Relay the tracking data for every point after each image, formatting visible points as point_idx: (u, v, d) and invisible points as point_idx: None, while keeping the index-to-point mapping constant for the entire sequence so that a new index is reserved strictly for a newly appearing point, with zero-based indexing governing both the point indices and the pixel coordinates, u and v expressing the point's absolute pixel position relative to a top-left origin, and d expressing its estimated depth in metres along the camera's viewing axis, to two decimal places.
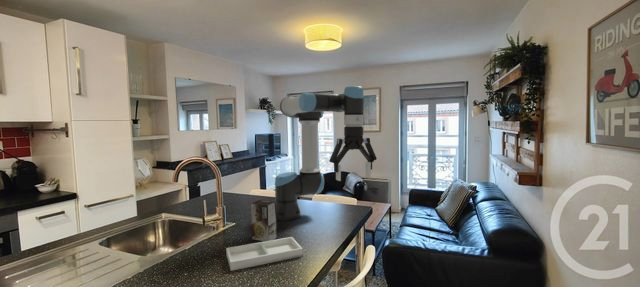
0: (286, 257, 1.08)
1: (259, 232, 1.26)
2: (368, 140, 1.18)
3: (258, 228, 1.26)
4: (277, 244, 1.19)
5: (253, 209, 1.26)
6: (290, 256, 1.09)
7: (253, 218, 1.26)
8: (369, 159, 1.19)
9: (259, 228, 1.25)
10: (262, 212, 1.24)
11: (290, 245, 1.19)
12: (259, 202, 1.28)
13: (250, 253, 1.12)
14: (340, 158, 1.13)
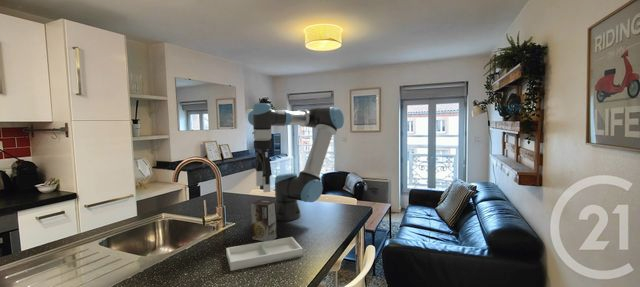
0: (286, 257, 1.08)
1: (259, 232, 1.26)
2: (263, 154, 1.20)
3: (258, 228, 1.26)
4: (277, 244, 1.19)
5: (253, 209, 1.26)
6: (290, 256, 1.09)
7: (253, 218, 1.26)
8: None
9: (259, 228, 1.25)
10: (262, 212, 1.24)
11: (290, 245, 1.19)
12: (259, 202, 1.28)
13: (250, 253, 1.12)
14: (256, 166, 1.32)
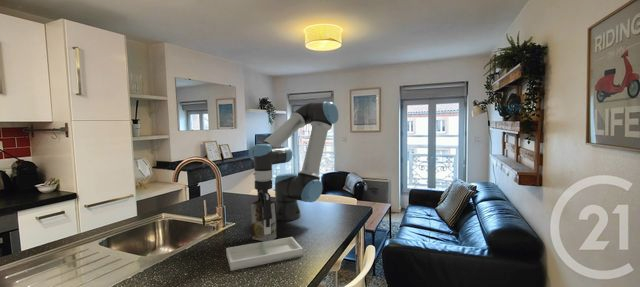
0: (286, 257, 1.08)
1: (259, 231, 1.26)
2: (264, 197, 1.21)
3: (258, 228, 1.26)
4: (277, 244, 1.19)
5: (253, 209, 1.26)
6: (290, 256, 1.09)
7: (253, 218, 1.26)
8: (264, 216, 1.22)
9: (259, 228, 1.26)
10: (262, 212, 1.24)
11: (290, 245, 1.19)
12: (259, 202, 1.28)
13: (250, 253, 1.12)
14: None
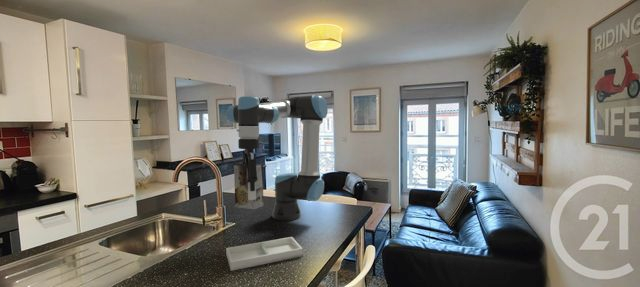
0: (286, 257, 1.08)
1: (242, 197, 1.09)
2: (248, 156, 1.04)
3: (241, 193, 1.09)
4: (277, 244, 1.19)
5: (236, 172, 1.09)
6: (290, 256, 1.09)
7: (236, 182, 1.10)
8: (248, 178, 1.05)
9: (242, 194, 1.08)
10: (246, 174, 1.07)
11: (290, 245, 1.19)
12: (243, 164, 1.11)
13: (250, 253, 1.12)
14: None
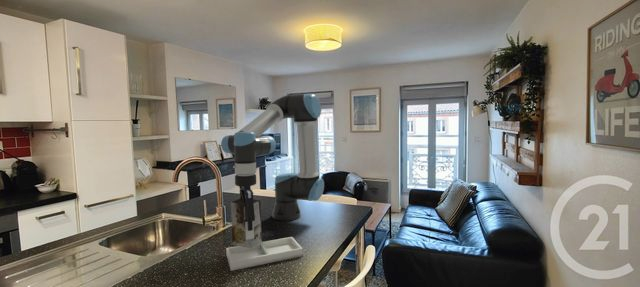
0: (286, 257, 1.08)
1: (240, 236, 1.06)
2: (245, 195, 1.01)
3: (238, 232, 1.06)
4: (277, 244, 1.19)
5: (233, 209, 1.06)
6: (290, 256, 1.09)
7: (233, 220, 1.06)
8: None
9: (240, 232, 1.05)
10: (243, 212, 1.04)
11: (290, 245, 1.19)
12: (240, 201, 1.07)
13: (250, 253, 1.12)
14: None
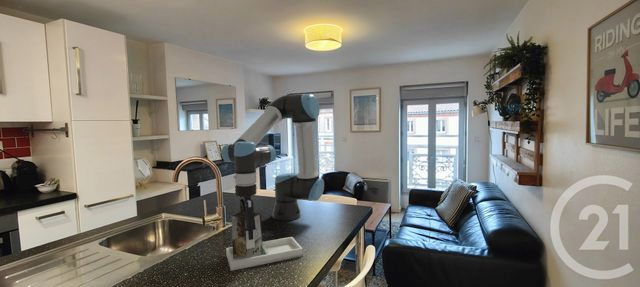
0: (286, 257, 1.08)
1: (241, 249, 1.06)
2: (245, 204, 1.01)
3: (239, 245, 1.06)
4: (277, 244, 1.19)
5: (234, 223, 1.07)
6: (290, 256, 1.09)
7: (234, 233, 1.07)
8: None
9: (241, 246, 1.06)
10: (244, 226, 1.05)
11: (290, 245, 1.19)
12: (241, 214, 1.08)
13: None
14: None
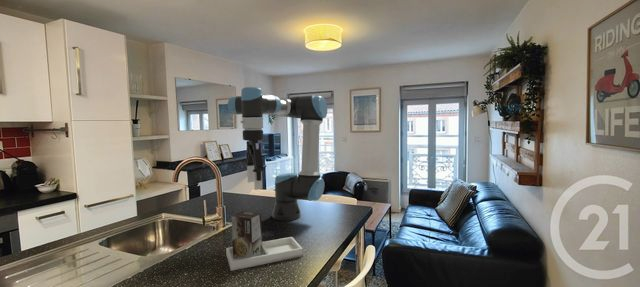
0: (286, 257, 1.08)
1: (241, 249, 1.06)
2: (253, 146, 1.04)
3: (239, 245, 1.06)
4: (277, 244, 1.19)
5: (234, 223, 1.07)
6: (290, 256, 1.09)
7: (234, 233, 1.07)
8: (254, 168, 1.04)
9: (241, 246, 1.06)
10: (244, 226, 1.05)
11: (290, 245, 1.19)
12: (241, 214, 1.08)
13: None
14: (247, 160, 1.16)
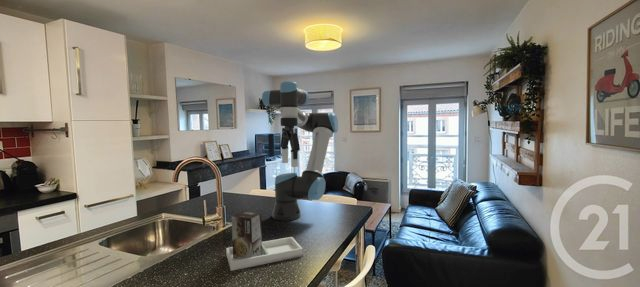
0: (286, 257, 1.08)
1: (241, 249, 1.06)
2: (291, 130, 1.24)
3: (239, 245, 1.06)
4: (277, 244, 1.19)
5: (234, 223, 1.07)
6: (290, 256, 1.09)
7: (234, 233, 1.07)
8: None
9: (241, 246, 1.06)
10: (244, 226, 1.05)
11: (290, 245, 1.19)
12: (241, 214, 1.08)
13: None
14: (282, 144, 1.36)
